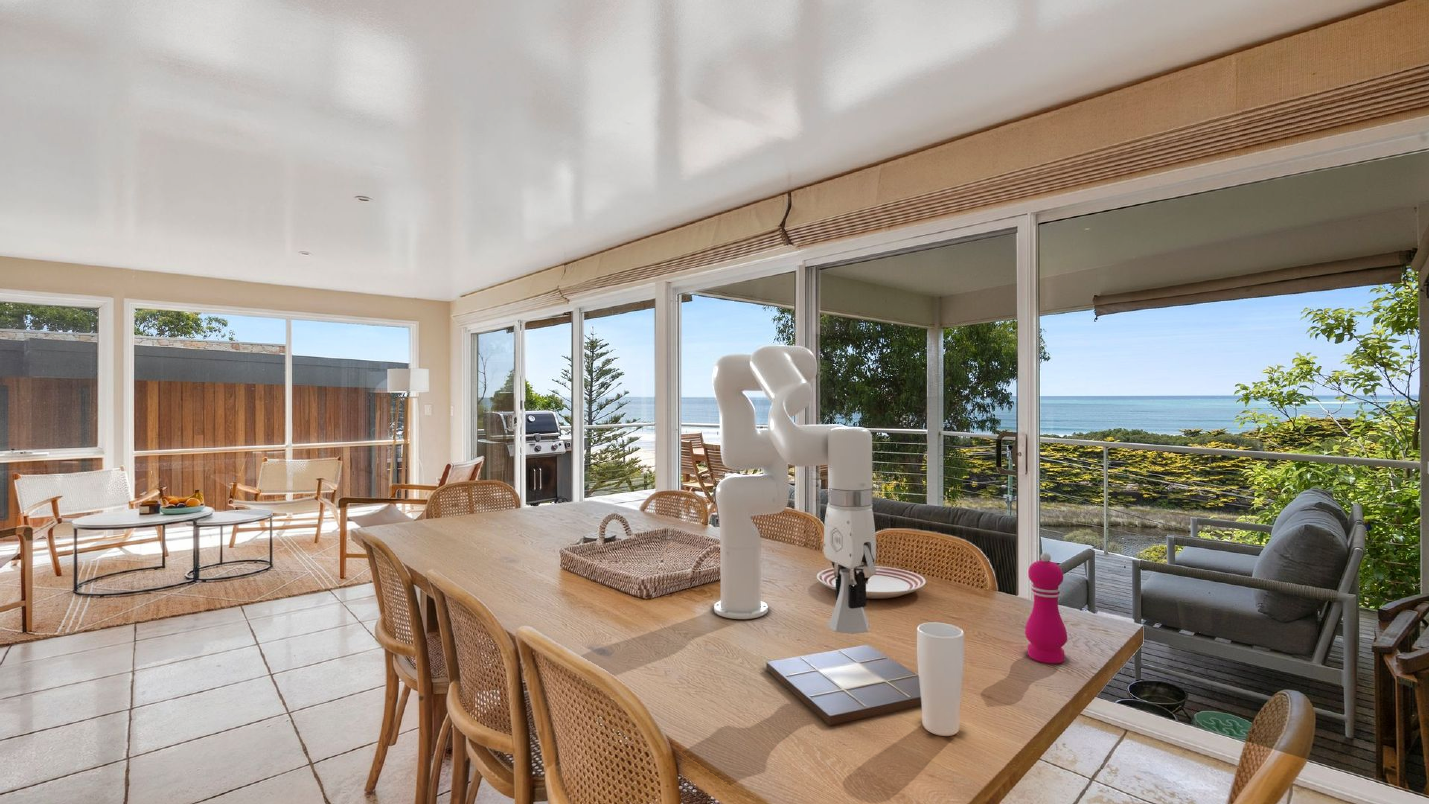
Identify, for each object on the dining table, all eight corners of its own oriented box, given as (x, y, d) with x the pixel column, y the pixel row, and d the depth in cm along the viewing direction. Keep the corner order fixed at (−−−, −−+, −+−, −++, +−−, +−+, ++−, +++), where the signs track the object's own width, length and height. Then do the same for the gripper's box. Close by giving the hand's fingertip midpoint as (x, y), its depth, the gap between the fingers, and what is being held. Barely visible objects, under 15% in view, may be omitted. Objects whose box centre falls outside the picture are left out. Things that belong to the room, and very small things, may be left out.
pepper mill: (1050, 667, 120) (1050, 559, 120) (1016, 654, 127) (1016, 551, 126) (1075, 660, 124) (1075, 554, 123) (1041, 647, 130) (1040, 547, 130)
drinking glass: (910, 718, 102) (909, 622, 101) (952, 716, 102) (951, 620, 102) (928, 741, 95) (927, 638, 95) (973, 739, 95) (972, 636, 95)
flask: (874, 635, 110) (874, 576, 110) (831, 635, 110) (831, 576, 110) (865, 621, 117) (865, 565, 117) (824, 620, 117) (824, 565, 117)
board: (766, 670, 120) (766, 661, 120) (867, 652, 128) (867, 644, 128) (829, 726, 100) (829, 715, 100) (945, 700, 108) (945, 690, 108)
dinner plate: (805, 576, 182) (805, 564, 182) (900, 573, 185) (900, 561, 185) (834, 608, 155) (834, 594, 155) (944, 603, 158) (944, 589, 158)
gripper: (807, 493, 120) (808, 593, 120) (858, 507, 105) (859, 621, 105) (842, 490, 123) (843, 588, 123) (897, 504, 107) (898, 615, 107)
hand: (850, 602), depth 114 cm, fingers closed on flask, 3 cm apart
